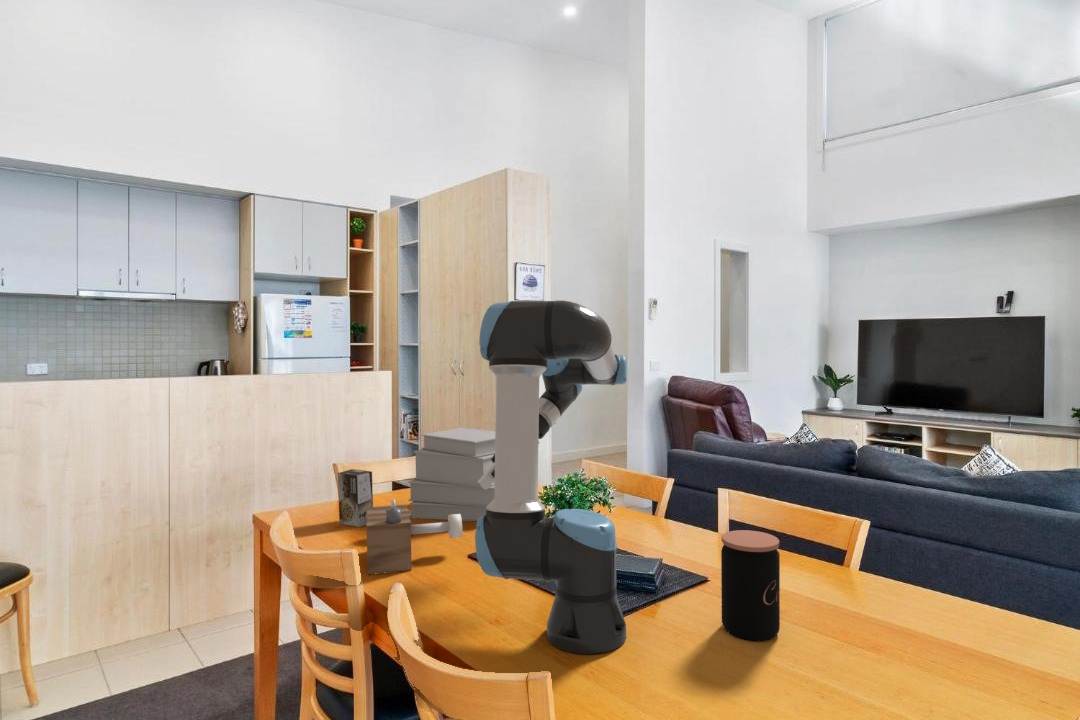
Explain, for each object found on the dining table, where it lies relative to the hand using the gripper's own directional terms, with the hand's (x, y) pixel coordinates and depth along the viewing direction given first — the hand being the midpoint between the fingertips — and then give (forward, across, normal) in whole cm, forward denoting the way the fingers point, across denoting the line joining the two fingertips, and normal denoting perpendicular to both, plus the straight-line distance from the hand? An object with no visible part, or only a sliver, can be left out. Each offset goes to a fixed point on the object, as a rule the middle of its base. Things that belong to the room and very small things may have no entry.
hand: (482, 485), depth 157 cm
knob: (+14, +18, -8) cm, 24 cm away
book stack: (-8, +51, -28) cm, 59 cm away
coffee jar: (-2, -57, -36) cm, 68 cm away
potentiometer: (+18, +15, +5) cm, 24 cm away
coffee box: (+18, +61, -5) cm, 64 cm away
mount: (+24, +23, -5) cm, 34 cm away
